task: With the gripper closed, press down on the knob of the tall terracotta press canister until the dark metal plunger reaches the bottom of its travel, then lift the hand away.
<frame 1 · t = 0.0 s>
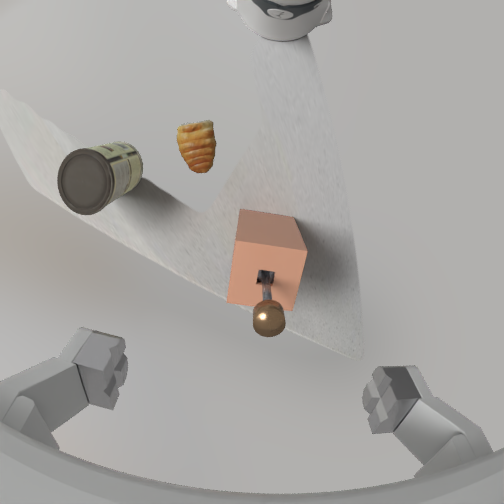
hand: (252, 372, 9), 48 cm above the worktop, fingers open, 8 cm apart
pastry: (199, 142, 52), on the worktop
plunger: (267, 294, 40), point 20 cm above the worktop, slide at 0.0 cm
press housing: (262, 238, 58), on the worktop
coffee can: (119, 167, 53), on the worktop
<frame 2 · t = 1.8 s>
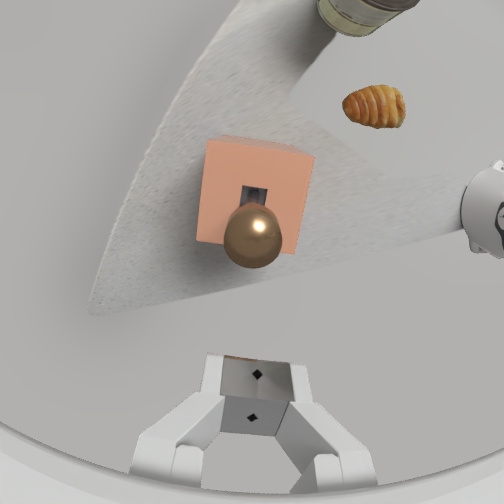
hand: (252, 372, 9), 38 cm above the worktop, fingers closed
pastry: (374, 108, 40), on the worktop
plunger: (253, 212, 25), point 20 cm above the worktop, slide at 0.0 cm
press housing: (253, 173, 44), on the worktop
coffee can: (348, 9, 33), on the worktop
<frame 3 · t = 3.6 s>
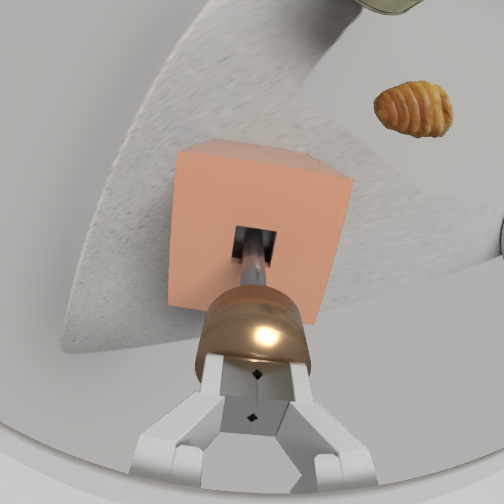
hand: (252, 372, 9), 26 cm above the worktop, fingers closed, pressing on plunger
pastry: (411, 111, 29), on the worktop
plunger: (253, 275, 15), point 20 cm above the worktop, slide at 0.9 cm, touching gripper
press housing: (253, 190, 33), on the worktop
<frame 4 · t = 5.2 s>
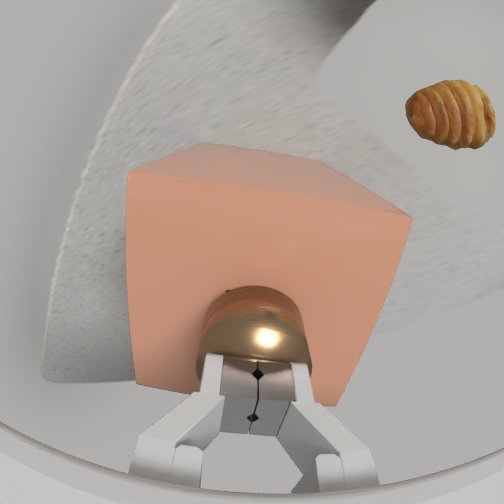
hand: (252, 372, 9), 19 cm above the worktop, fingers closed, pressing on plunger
pastry: (447, 115, 23), on the worktop
plunger: (253, 276, 15), point 12 cm above the worktop, slide at 8.2 cm, touching gripper
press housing: (253, 208, 26), on the worktop
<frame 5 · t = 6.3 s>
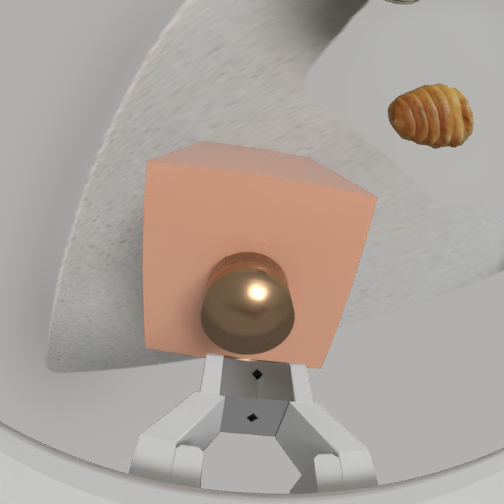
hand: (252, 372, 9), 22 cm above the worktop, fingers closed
pastry: (428, 117, 26), on the worktop
plunger: (247, 252, 18), point 12 cm above the worktop, slide at 8.1 cm
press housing: (248, 200, 29), on the worktop
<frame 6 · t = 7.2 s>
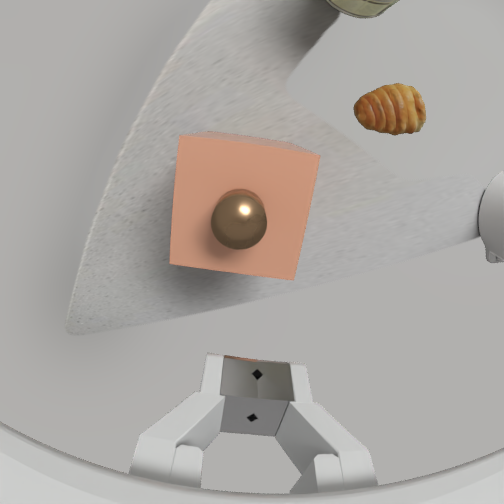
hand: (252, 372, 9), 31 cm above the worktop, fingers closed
pastry: (389, 111, 34), on the worktop
plunger: (241, 199, 26), point 12 cm above the worktop, slide at 8.1 cm
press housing: (243, 176, 37), on the worktop
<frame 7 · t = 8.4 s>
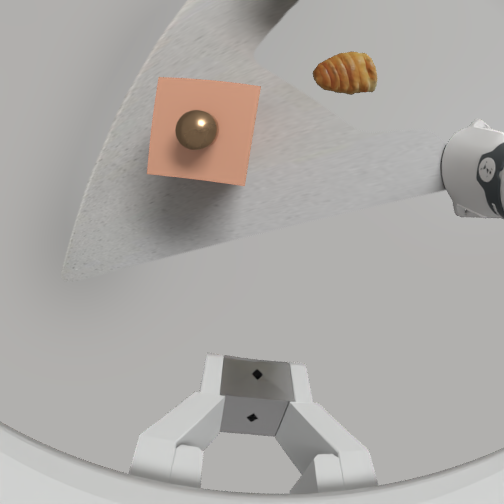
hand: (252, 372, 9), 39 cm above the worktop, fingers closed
pastry: (346, 75, 39), on the worktop
plunger: (206, 129, 31), point 12 cm above the worktop, slide at 8.1 cm
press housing: (218, 128, 42), on the worktop
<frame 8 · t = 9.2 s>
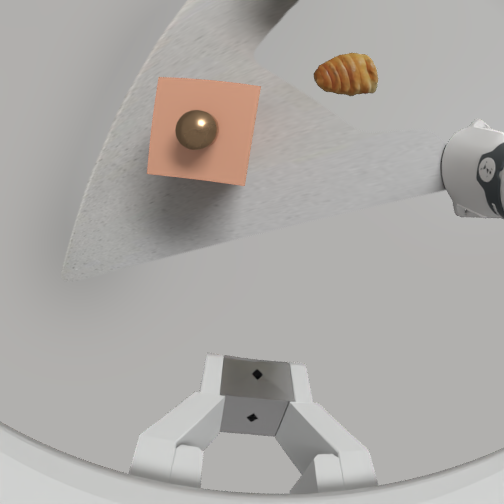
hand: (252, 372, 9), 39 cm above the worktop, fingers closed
pastry: (347, 77, 39), on the worktop
plunger: (206, 129, 31), point 12 cm above the worktop, slide at 8.1 cm
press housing: (218, 128, 42), on the worktop
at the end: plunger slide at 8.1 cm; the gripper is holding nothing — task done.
